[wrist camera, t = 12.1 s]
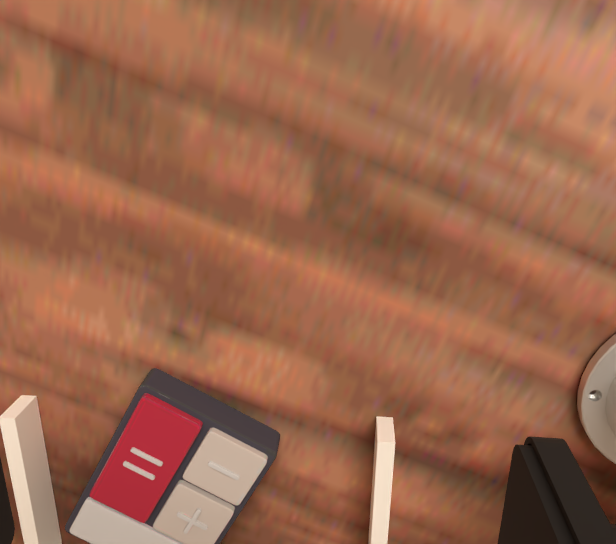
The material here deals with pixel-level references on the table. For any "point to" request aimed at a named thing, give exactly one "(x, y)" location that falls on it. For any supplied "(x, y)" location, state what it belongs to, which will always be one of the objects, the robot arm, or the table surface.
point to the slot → (39, 493)
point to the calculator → (173, 469)
